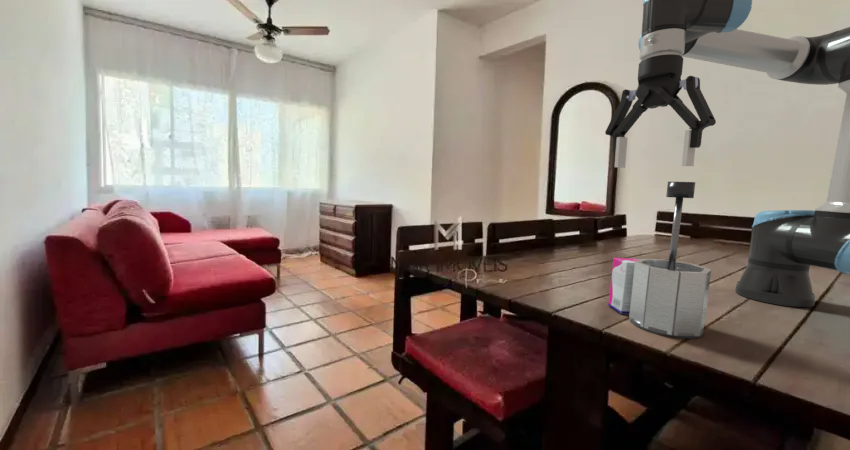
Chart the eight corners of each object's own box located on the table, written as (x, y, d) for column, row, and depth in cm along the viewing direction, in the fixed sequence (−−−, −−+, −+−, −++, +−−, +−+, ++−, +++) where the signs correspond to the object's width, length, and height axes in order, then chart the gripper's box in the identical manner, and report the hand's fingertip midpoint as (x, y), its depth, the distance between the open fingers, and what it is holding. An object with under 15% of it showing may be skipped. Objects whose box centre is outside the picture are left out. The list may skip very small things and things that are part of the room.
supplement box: (647, 314, 80) (653, 263, 79) (620, 314, 80) (625, 262, 79) (632, 306, 86) (637, 257, 85) (607, 305, 86) (611, 257, 85)
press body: (666, 311, 84) (672, 257, 82) (719, 339, 69) (728, 274, 67) (611, 309, 84) (617, 255, 82) (653, 337, 69) (660, 272, 67)
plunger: (675, 280, 78) (686, 182, 75) (702, 290, 70) (716, 182, 68) (639, 278, 78) (649, 181, 75) (662, 289, 70) (675, 181, 68)
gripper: (593, 71, 82) (586, 167, 85) (727, 33, 61) (712, 164, 63) (613, 76, 86) (606, 168, 89) (747, 42, 64) (732, 165, 67)
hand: (651, 167), depth 76 cm, fingers open, 13 cm apart
